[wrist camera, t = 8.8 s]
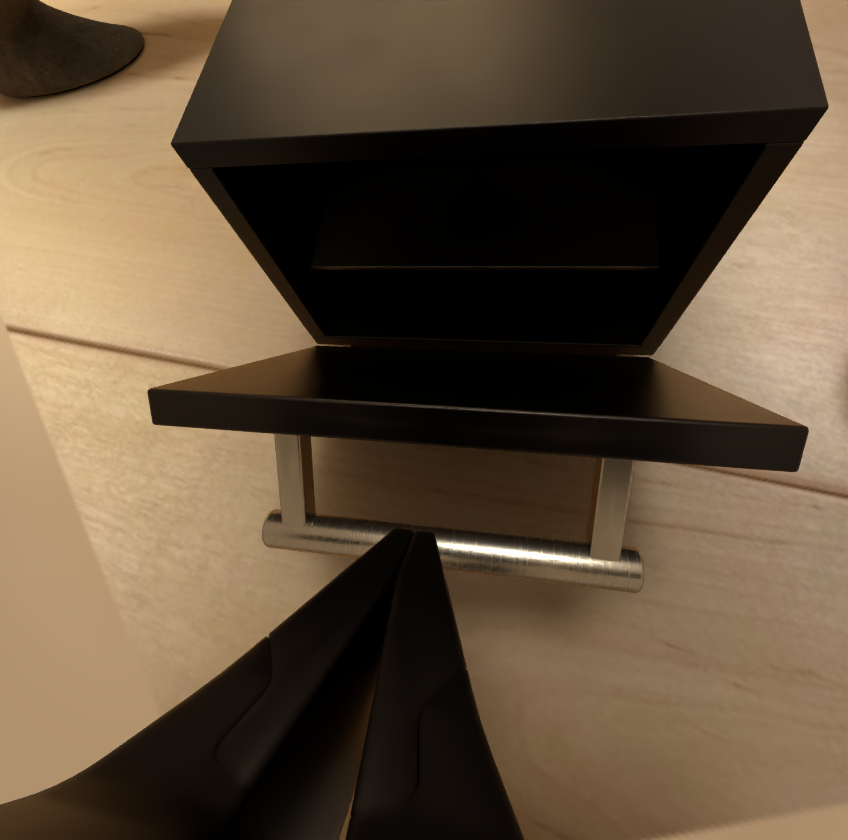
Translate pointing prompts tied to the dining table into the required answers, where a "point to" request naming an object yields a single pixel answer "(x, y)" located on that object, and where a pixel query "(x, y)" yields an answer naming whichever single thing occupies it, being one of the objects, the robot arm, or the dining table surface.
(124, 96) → the dining table surface
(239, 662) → the robot arm
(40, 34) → the coffee table
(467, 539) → the oven door
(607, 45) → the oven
